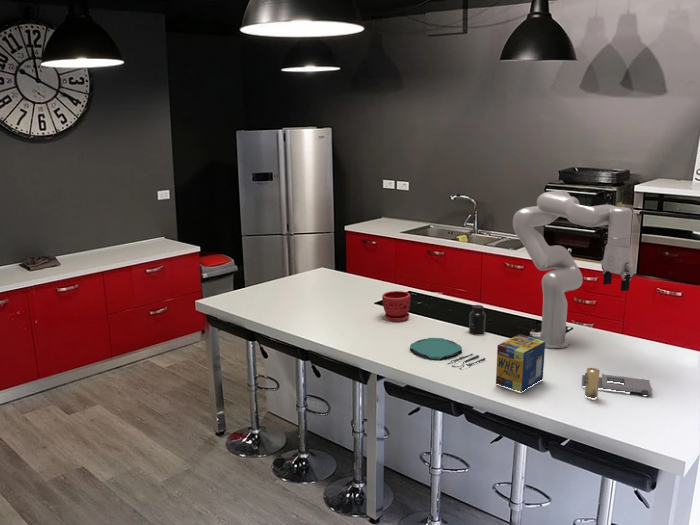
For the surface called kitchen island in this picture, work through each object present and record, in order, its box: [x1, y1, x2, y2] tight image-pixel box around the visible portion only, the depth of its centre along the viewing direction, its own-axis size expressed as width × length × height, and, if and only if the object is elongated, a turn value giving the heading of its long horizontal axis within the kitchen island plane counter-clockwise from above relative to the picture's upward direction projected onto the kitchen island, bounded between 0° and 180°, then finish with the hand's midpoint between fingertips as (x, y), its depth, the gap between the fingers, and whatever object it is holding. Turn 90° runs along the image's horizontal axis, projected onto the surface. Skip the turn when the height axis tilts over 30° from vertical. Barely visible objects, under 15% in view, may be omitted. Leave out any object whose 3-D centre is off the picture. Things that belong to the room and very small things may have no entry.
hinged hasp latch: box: [581, 372, 652, 396], centre depth 219 cm, size 22×10×2 cm, turn 69°
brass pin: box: [584, 367, 601, 398], centre depth 211 cm, size 4×4×10 cm
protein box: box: [495, 333, 546, 392], centre depth 223 cm, size 10×15×16 cm
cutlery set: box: [409, 337, 486, 367], centre depth 251 cm, size 20×30×2 cm, turn 37°
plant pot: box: [381, 290, 411, 322], centre depth 293 cm, size 13×13×12 cm
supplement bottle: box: [468, 304, 487, 335], centre depth 274 cm, size 7×7×12 cm
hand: (615, 287), depth 230 cm, fingers open, 9 cm apart
